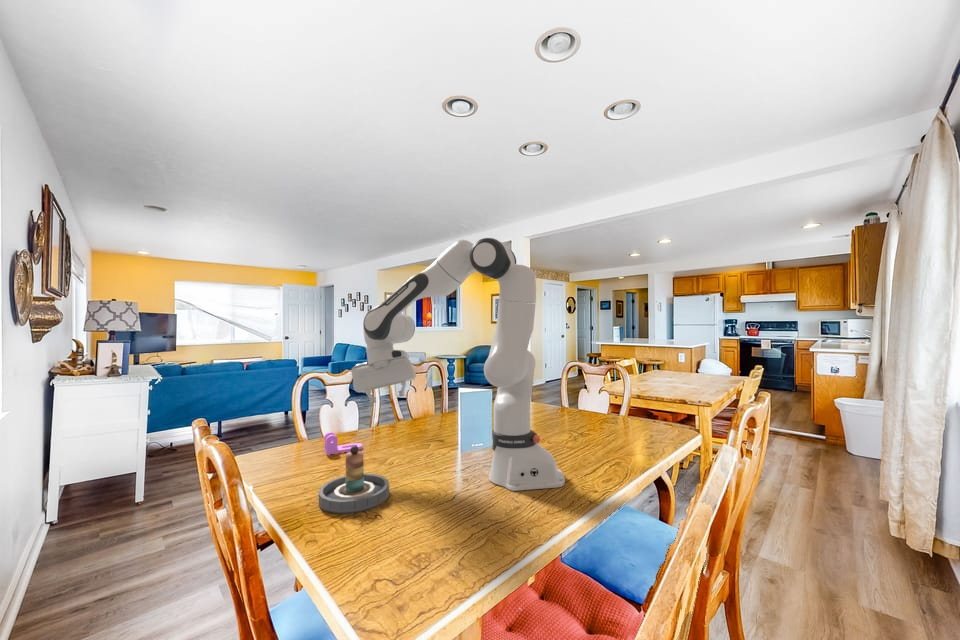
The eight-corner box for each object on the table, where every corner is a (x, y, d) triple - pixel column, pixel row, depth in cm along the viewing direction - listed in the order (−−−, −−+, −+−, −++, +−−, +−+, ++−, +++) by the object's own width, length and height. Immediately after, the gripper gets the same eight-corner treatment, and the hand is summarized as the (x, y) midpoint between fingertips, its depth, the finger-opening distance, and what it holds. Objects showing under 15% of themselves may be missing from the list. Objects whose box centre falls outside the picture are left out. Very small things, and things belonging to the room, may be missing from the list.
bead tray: (396, 484, 115) (396, 473, 115) (377, 514, 97) (377, 502, 97) (335, 483, 116) (335, 473, 116) (305, 513, 98) (305, 501, 98)
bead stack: (369, 489, 109) (369, 442, 109) (362, 498, 103) (361, 449, 103) (348, 488, 109) (347, 442, 109) (339, 498, 103) (339, 449, 103)
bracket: (326, 456, 140) (326, 436, 140) (324, 451, 145) (324, 432, 145) (363, 450, 146) (363, 431, 146) (360, 446, 151) (360, 427, 151)
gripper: (347, 364, 128) (352, 406, 124) (408, 349, 129) (416, 391, 125) (353, 367, 135) (359, 407, 130) (412, 353, 135) (420, 393, 131)
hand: (387, 399), depth 128 cm, fingers open, 8 cm apart
